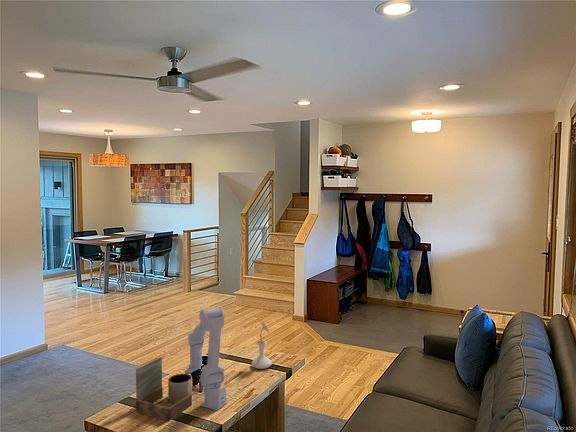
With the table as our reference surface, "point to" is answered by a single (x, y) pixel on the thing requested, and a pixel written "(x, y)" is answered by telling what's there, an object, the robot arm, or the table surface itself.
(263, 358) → the flower in vase
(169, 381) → the planter
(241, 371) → the table surface
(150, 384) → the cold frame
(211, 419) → the table surface
